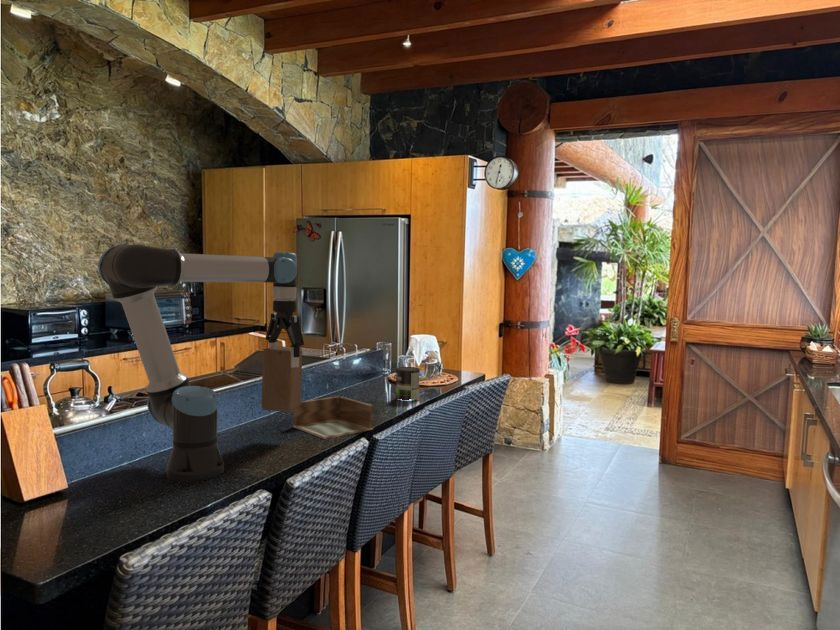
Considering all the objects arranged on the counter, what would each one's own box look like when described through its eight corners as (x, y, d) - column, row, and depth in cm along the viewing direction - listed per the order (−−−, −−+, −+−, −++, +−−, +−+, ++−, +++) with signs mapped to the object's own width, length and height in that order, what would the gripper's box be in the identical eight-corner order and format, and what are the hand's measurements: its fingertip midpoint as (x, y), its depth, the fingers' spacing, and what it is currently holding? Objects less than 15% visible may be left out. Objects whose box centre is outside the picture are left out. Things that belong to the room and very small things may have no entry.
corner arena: (325, 439, 212) (325, 413, 211) (293, 427, 227) (293, 402, 226) (372, 430, 225) (373, 405, 225) (340, 419, 240) (340, 395, 240)
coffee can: (399, 404, 269) (399, 370, 268) (392, 399, 279) (393, 366, 278) (422, 402, 272) (422, 370, 271) (415, 398, 282) (415, 366, 281)
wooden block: (289, 412, 204) (290, 350, 203) (260, 410, 207) (261, 348, 206) (302, 406, 214) (303, 347, 213) (274, 404, 216) (275, 345, 215)
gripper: (315, 301, 202) (314, 368, 203) (275, 297, 220) (274, 359, 222) (294, 302, 197) (293, 370, 198) (255, 298, 215) (255, 360, 217)
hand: (283, 364), depth 210 cm, fingers closed on wooden block, 13 cm apart
